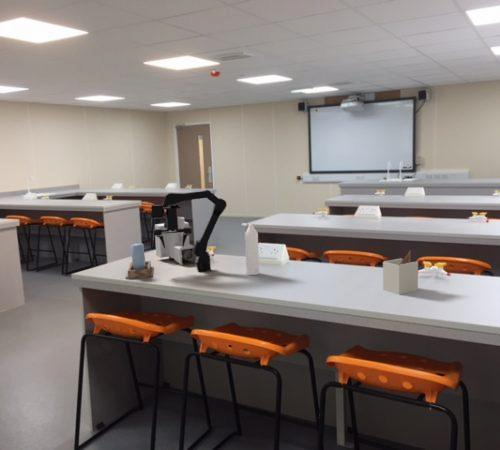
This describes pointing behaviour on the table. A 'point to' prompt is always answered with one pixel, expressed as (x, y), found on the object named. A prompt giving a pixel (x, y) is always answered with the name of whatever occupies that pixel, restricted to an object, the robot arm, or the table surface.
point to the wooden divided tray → (140, 271)
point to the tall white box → (400, 276)
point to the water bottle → (251, 250)
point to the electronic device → (175, 244)
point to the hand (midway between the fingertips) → (173, 247)
